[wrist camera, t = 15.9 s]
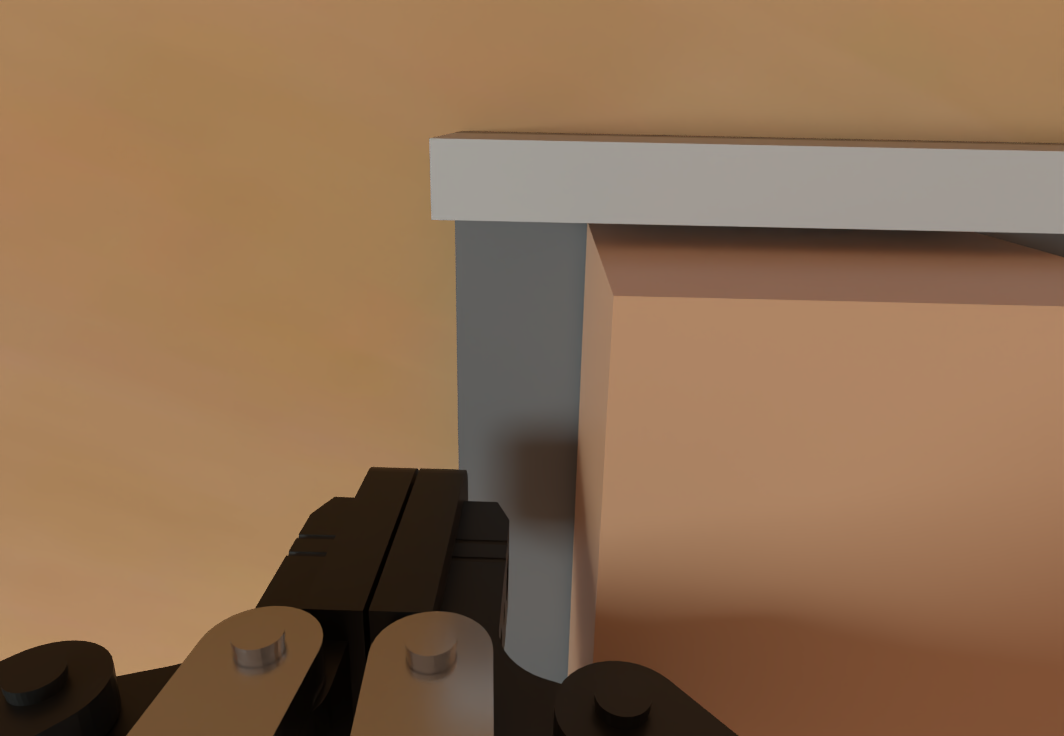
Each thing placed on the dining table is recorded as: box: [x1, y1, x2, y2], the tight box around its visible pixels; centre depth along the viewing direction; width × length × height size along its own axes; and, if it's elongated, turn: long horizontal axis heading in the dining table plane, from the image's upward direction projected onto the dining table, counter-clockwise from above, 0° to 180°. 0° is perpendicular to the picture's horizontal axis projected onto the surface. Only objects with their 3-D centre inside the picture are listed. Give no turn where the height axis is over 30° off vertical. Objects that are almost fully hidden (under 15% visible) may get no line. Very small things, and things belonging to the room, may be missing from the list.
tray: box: [429, 131, 1064, 684], centre depth 12 cm, size 20×12×4 cm, turn 89°
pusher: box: [568, 223, 1064, 736], centre depth 11 cm, size 6×9×5 cm, turn 179°
